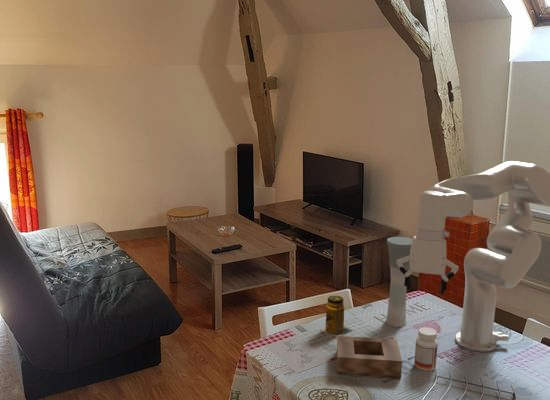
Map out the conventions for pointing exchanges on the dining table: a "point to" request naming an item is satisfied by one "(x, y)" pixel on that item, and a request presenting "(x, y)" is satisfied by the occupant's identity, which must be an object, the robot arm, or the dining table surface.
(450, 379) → the dining table surface
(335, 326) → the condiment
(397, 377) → the well block
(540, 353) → the dining table surface
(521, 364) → the dining table surface
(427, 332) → the pill bottle
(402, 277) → the container
